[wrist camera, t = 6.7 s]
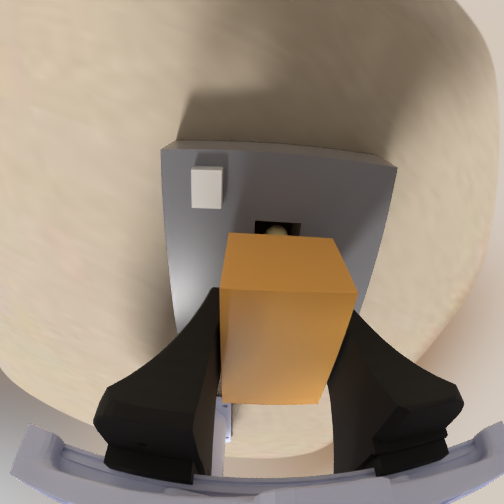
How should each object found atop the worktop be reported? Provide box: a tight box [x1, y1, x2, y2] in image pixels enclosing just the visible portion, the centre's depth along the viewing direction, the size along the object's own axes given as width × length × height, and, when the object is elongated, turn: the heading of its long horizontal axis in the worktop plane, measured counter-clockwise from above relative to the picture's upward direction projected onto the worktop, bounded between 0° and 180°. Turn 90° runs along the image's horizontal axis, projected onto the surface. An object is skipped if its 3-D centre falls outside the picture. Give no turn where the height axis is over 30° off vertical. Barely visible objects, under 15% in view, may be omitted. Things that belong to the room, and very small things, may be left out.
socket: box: [161, 140, 397, 335], centre depth 15 cm, size 12×10×3 cm
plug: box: [219, 225, 358, 405], centre depth 12 cm, size 6×4×6 cm, turn 177°
